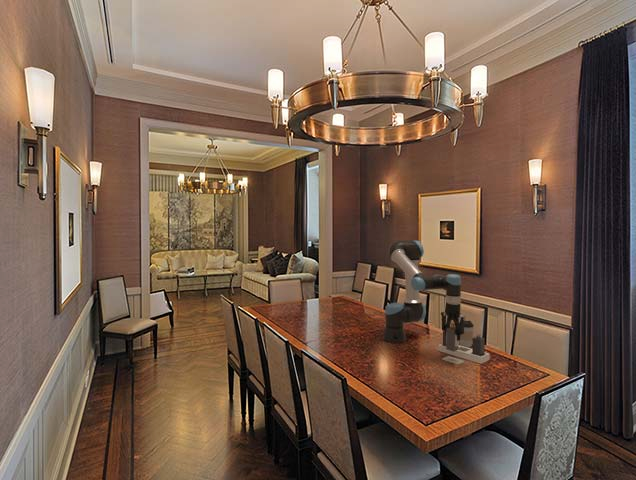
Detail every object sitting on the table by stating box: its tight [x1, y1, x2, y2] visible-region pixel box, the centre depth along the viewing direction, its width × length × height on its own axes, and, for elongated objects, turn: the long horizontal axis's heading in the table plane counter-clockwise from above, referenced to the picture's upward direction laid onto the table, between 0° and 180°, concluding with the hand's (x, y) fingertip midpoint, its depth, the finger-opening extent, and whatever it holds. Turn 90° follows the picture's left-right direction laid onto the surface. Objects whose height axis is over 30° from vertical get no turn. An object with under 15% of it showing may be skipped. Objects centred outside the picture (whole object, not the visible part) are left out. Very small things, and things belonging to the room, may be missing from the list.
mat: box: [441, 355, 465, 365], centre depth 193 cm, size 10×7×1 cm
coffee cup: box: [459, 320, 475, 348], centre depth 217 cm, size 9×9×15 cm
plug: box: [446, 322, 458, 352], centre depth 193 cm, size 4×4×14 cm
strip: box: [437, 330, 491, 365], centre depth 200 cm, size 26×9×15 cm, turn 39°
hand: (452, 344), depth 193 cm, fingers closed on plug, 4 cm apart
